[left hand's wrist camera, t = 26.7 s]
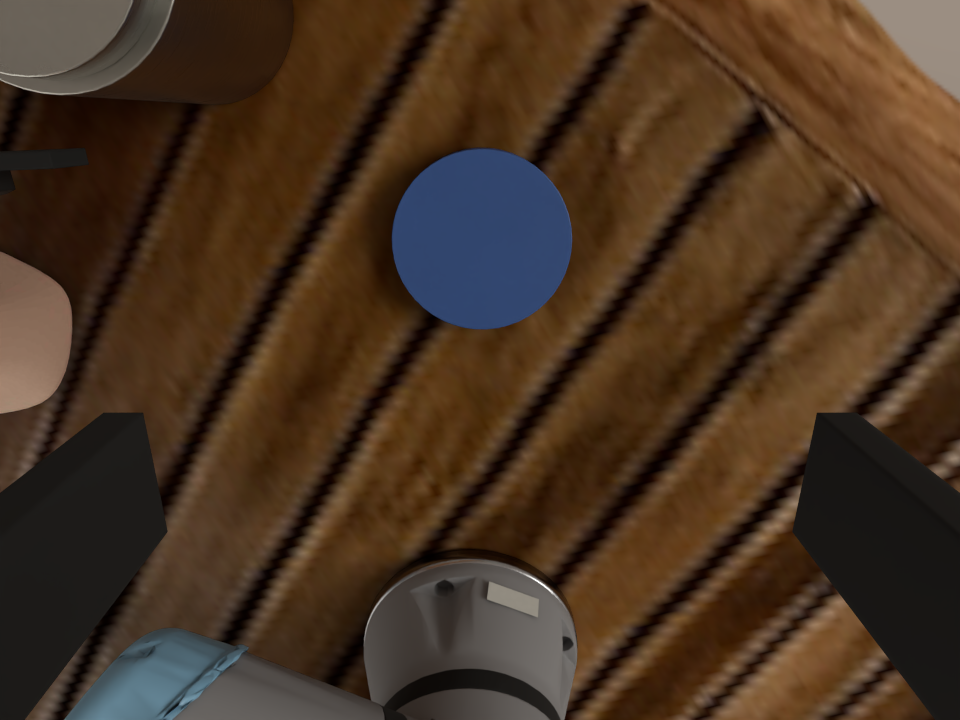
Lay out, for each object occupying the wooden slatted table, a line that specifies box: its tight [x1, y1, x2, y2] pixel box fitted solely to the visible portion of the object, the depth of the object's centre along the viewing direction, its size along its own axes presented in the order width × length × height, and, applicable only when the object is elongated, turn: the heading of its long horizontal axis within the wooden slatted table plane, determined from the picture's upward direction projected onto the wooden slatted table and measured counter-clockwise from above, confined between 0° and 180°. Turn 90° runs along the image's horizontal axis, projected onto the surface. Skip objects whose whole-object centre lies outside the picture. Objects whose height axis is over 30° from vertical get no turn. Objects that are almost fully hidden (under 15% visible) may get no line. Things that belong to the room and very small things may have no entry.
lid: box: [392, 148, 572, 329], centre depth 36 cm, size 10×10×2 cm
